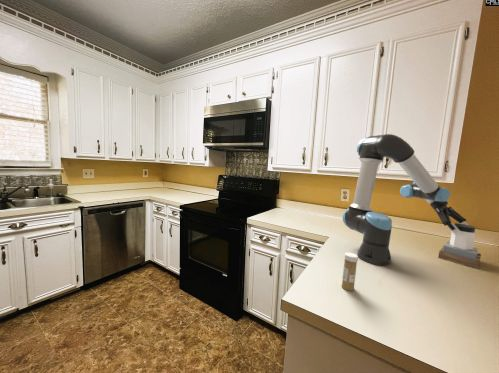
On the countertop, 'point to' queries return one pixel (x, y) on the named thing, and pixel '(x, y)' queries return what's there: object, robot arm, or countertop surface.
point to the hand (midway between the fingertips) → (465, 234)
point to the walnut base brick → (460, 259)
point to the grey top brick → (460, 251)
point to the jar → (463, 237)
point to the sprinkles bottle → (349, 271)
